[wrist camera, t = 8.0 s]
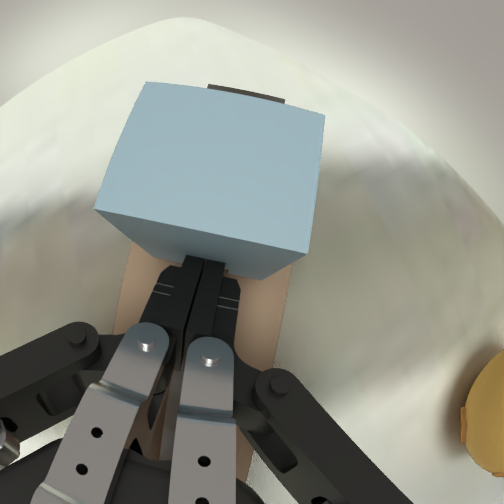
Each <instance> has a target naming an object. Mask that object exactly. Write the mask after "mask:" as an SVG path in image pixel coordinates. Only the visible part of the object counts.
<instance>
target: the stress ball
mask: <svg viewBox="0 0 504 504" xmlns="http://www.w3.org/2000/svg"><path fill="white" fill-rule="evenodd" d="M460 442H461V443H462V444H463V443H465V445H466V448H467V450H468V452H469V454H470V456H471V457H472V459H473V460H474V461H475V462H476V463H477V464H478V465H479V466H480V467H481V468H483V469H485V470H486V471H488V472H491V473H492V475H493V476H495V477H504V350H502V351H501V352H499V353H498V354H497V355H496V356H495V357H493V358H492V359H491V360H490V362H489V363H488V364H487V365H486V366H485V367H484V368H483V370H482V371H481V372H480V374H479V375H478V377H477V378H476V380H475V382H474V384H473V386H472V388H471V390H470V392H469V395H468V397H467V400H466V404H465V406H464V407H461V410H460Z"/></svg>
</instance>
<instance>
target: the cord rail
mask: <svg viewBox="0 0 504 504" xmlns="http://www.w3.org/2000/svg"><path fill="white" fill-rule="evenodd" d="M207 89H214V90H220V91H226V92H231V93H236V94H242V95H247V96H252V97H256V98H261V99H265V100H270V101H274V102H278V103H282V104H284V103H285V99H281V98H277V97H273V96H269V95H264V94H260V93H255V92H250V91H245V90H240V89H235V88H229V87H224V86H218V85H211V84H208V87H207ZM170 265H172V266H177V267H181V266H182V263H177V262H173V261H168V260H164V259H159V258H155V257H153V256H151V255H150V254H149V253H147V252H146V251H145V250H144V249H142V248H141V247H140V246H139V245H137V244H136V243H135V242H133V241H132V245H131V249H130V253H129V257H128V261H127V265H126V269H125V274H124V278H123V283H122V287H121V292H120V297H119V302H118V307H117V312H116V317H115V323H114V329H113V335H119V334H123V333H126V332H127V330H128V329H129V328H130V327H132V326H133V325H135V324H138V322H139V320H140V318H141V316H142V313H143V311H144V309H145V306H146V304H147V302H148V300H149V297H150V295H151V293H152V292H153V288H154V286H155V284H156V282H157V280H158V277H159V275H160V273H161V272H162V271H163V270H164V269H166V268H167V267H168V266H170ZM204 267H205V265H204ZM291 268H292V263H291V264H289V265H288V266H286V267H284V268H283V269H281V270H279V271H277V272H276V273H274V274H272V275H270V276H269V277H267V278H265V279H263V280H257V279H252V278H247V277H242V276H238V275H233V274H228V271H229V270H227V269H224V273H223V277H228V278H233V279H237V281H238V284H239V286H240V289H241V293H240V300H239V308H238V316H237V324H236V332H235V340H234V348H235V351H236V353H237V355H238V356H239V358H240V359H241V360H242V361H243V362H245V363H246V364H248V365H249V366H251V367H253V368H256V369H258V370H260V371H262V372H263V371H265V370H267V369H271V368H272V367H273V362H274V358H275V353H276V348H277V343H278V338H279V333H280V328H281V322H282V317H283V312H284V307H285V301H286V296H287V290H288V285H289V279H290V274H291ZM183 376H184V372H183V363H182V366H181V370H180V372H179V371H175V370H173V374H172V377H171V381H170V384H169V389H168V392H167V395H166V398H165V400H164V403H163V406H162V409H161V412H160V415H159V418H158V421H157V424H156V426H155V429H154V433H153V437H152V444H151V449H150V452H149V456H148V459H151V460H172V457H173V448H174V439H175V431H176V423H177V415H178V410H179V405H180V398H181V390H182V383H183ZM253 451H254V448H253V447H252V446H251V444H250V443H249V442H248V440H247V439H246V438H245V436H244V435H243V433H242V432H241V431H240V429H239V426H237V425H236V478H238V479H239V480H241V481H243V482H244V483H246V479H247V475H248V471H249V467H250V463H251V459H252V455H253Z"/></svg>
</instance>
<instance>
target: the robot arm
mask: <svg viewBox="0 0 504 504" xmlns="http://www.w3.org/2000/svg"><path fill="white" fill-rule="evenodd" d="M225 264H226V263H222V262H217V261H213V260H208V259H207V260H206V263H205V259H203V258H199V257H194V256H189V255H186V256H185V259H184V261H183V264H182V266H181V267H177V266H172V265H170V266H168V267H167V268H166V269H164V270H163V271H162V272H161V273H160V275H159V277H158V280H157V282H156V284H155V286H154V288H153V292H152V293H151V295H150V297H149V300H148V302H147V304H146V306H145V309H144V311H143V313H142V316H141V318H140V320H139V322H138V324H135V325H133V326H132V327H130V328H129V329H128V330H127V332H126V333H123V334H119V335H98V332H97V331H96V329H95V328H94V327H93V326H92V325H90V324H88V323H85V322H73V323H70V324H68V325H65V326H63V327H61V328H59V329H57V330H55V331H53V332H50V333H48V334H46V335H44V336H42V337H40V338H38V339H35V340H33V341H31V342H29V343H27V344H25V345H23V346H21V347H18V348H16V349H14V350H12V351H10V352H8V353H6V354H4V355H2V356H0V504H265V503H264V502H263V501H262V499H261V498H260V497H259V496H258V494H257V493H256V492H255V491H254V490H253V489H252V488H251V487H249V486H248V485H247V484H246V483H244V482H243V481H241V480H239V479H238V478H236V425H237V426H239V429H240V431H241V432H242V433H243V435H244V436H245V438H246V439H247V440H248V442H249V443H250V444H251V446H252V447H253V448H254V450H255V451H256V452H257V453H258V455H259V456H260V457H261V459H262V460H263V461H264V462H265V464H266V465H267V466H268V467H269V469H270V470H271V471H272V472H273V474H274V475H275V476H276V477H277V479H278V480H279V481H280V482H281V483H282V485H283V486H284V487H285V488H286V489H287V491H288V492H289V493H290V494H291V495H292V496H293V497H294V499H295V500H296V501H297V502H298V503H299V504H413V503H412V502H411V501H410V500H409V499H408V498H407V497H406V496H405V495H404V494H403V493H402V492H401V491H400V490H399V489H398V488H397V487H396V486H395V485H394V484H393V483H392V482H391V481H390V480H389V479H388V478H387V477H386V475H385V474H384V473H383V472H382V471H381V470H380V469H379V468H378V467H377V466H376V465H375V464H374V463H373V462H372V461H371V460H370V459H369V458H368V457H367V456H366V455H365V454H364V452H363V451H362V450H361V449H360V448H359V447H358V446H357V445H356V444H355V443H354V442H353V441H352V440H351V438H350V437H349V436H348V435H347V434H346V433H345V432H344V431H343V430H342V429H341V428H340V426H339V425H338V424H337V423H336V422H335V421H334V420H333V419H332V418H331V416H330V415H329V414H328V413H327V412H326V411H325V410H324V409H323V407H322V406H321V405H320V404H319V403H318V402H317V401H316V400H315V398H314V397H313V396H312V395H311V394H310V393H309V392H308V390H307V389H306V388H305V387H304V386H303V385H302V383H301V382H300V381H299V380H298V379H297V378H296V377H295V376H294V375H293V374H292V373H290V372H289V371H286V370H284V369H280V368H271V369H267V370H265V371H263V372H262V371H260V370H258V369H256V368H253V367H251V366H249V365H248V364H246V363H245V362H243V361H242V360H241V359H240V358H239V356H238V355H237V353H236V351H235V348H234V340H235V332H236V324H237V316H238V308H239V300H240V293H241V289H240V286H239V284H238V281H237V279H233V278H228V277H223V273H224V268H225ZM204 265H205V267H204ZM182 363H183V372H184V376H183V383H182V390H181V398H180V405H179V410H178V415H177V423H176V431H175V439H174V448H173V457H172V460H151V459H148V456H149V452H150V449H151V444H152V437H153V433H154V429H155V426H156V424H157V421H158V418H159V415H160V412H161V409H162V406H163V403H164V400H165V398H166V395H167V392H168V389H169V384H170V381H171V377H172V374H173V370H175V371H179V372H180V370H181V366H182ZM72 415H74V416H73V418H72V420H71V422H70V424H69V426H68V429H67V431H66V433H65V435H64V437H63V438H60V439H57V440H55V441H52V442H50V443H48V444H47V445H45V446H43V447H41V448H40V449H38V450H36V451H34V452H33V453H31V454H29V455H27V456H25V457H24V458H22V459H20V460H18V461H16V462H14V463H12V464H11V465H9V464H10V463H11V462H13V461H14V460H15V459H17V458H18V457H19V455H20V451H19V450H20V444H19V443H20V442H22V441H24V440H26V439H28V438H30V437H32V436H34V435H36V434H38V433H40V432H42V431H44V430H46V429H48V428H50V427H51V426H53V425H55V424H57V423H59V422H61V421H63V420H65V419H67V418H68V417H70V416H72ZM8 465H9V466H8Z"/></svg>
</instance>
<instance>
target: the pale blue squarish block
mask: <svg viewBox="0 0 504 504" xmlns="http://www.w3.org/2000/svg"><path fill="white" fill-rule="evenodd" d="M324 121H325V115H323V114H319V113H316V112H312V111H309V110H305V109H302V108H298V107H294V106H290V105H286V104H282V103H278V102H274V101H270V100H265V99H261V98H256V97H252V96H247V95H242V94H236V93H231V92H226V91H220V90H214V89H207V88H200V87H193V86H186V85H177V84H168V83H158V82H146V83H145V85H144V87H143V89H142V91H141V92H140V94H139V97H138V99H137V101H136V103H135V105H134V107H133V109H132V111H131V113H130V115H129V118H128V120H127V122H126V124H125V126H124V129H123V131H122V133H121V136H120V138H119V140H118V143H117V145H116V148H115V150H114V153H113V155H112V158H111V160H110V163H109V166H108V168H107V171H106V174H105V176H104V179H103V182H102V185H101V188H100V191H99V194H98V197H97V200H96V203H95V206H94V210H96V211H97V212H98V213H99V214H100V215H102V216H103V217H104V218H105V219H106V220H108V221H109V222H110V223H111V224H112V225H114V226H115V227H116V228H117V229H119V230H120V231H121V232H122V233H124V234H125V235H126V236H127V237H128V238H130V239H131V240H132V241H133V242H135V243H136V244H137V245H139V246H140V247H141V248H142V249H144V250H145V251H146V252H147V253H149V254H150V255H151V256H153V257H155V258H159V259H164V260H168V261H173V262H177V263H182V264H183V261H184V259H185V256H186V255H189V256H194V257H199V258H203V259H205V263H206V260H207V259H208V260H213V261H217V262H222V263H226V264H225V268H224V269H227V270H229V271H228V274H233V275H238V276H242V277H247V278H252V279H257V280H263V279H265V278H267V277H269V276H270V275H272V274H274V273H276V272H277V271H279V270H281V269H283V268H284V267H286V266H288V265H289V264H291V263H293V262H295V261H296V260H298V259H300V258H302V257H303V256H305V255H307V254H308V249H309V242H310V236H311V229H312V222H313V215H314V208H315V200H316V193H317V185H318V177H319V168H320V160H321V151H322V142H323V132H324Z"/></svg>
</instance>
